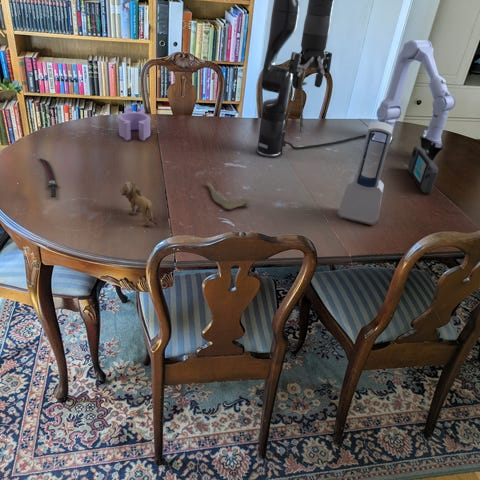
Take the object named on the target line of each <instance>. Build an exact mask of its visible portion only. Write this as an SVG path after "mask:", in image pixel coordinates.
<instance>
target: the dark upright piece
mask: <svg viewBox="0 0 480 480" xmlns="http://www.w3.org/2000/svg"><path fill="white" fill-rule="evenodd" d="M305 76H306V70H305V71H303V73H302V74H301V75H300V77H301V79H300V85H299V89H295V91H294V94H293V97H292V100H291V103H290V106H289V109H288V112H287V113H286V117H285V123H284V130H285V128H286V126H287V124H288V123H293V124H299V132H302V127H303V126H304V120H305V119H304V115H303V114H304V110H303V109H304V107H303V104H304V103H303V102H304V101H303V100H304V98H303V96H304V95H303V90H304V88H303V86H307V84H308V82H307V81H304V80H305ZM297 92H300V96H296V95H297ZM295 101H297V102H300V106H298V105H293V104H294V102H295ZM292 108H298V109H292ZM299 109H300V110H299ZM291 111H293V112H299V113H300V114H299V115H300V116H299V117H297V116H291V115H290V114H291ZM289 118H291V119H292V118H294V119H299V122H297V121H291V120H289Z"/></svg>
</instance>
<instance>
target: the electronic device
mask: <svg viewBox="0 0 480 480" xmlns="http://www.w3.org/2000/svg"><path fill="white" fill-rule="evenodd" d="M375 132H380V133H383V134H385V135H387V136H386V140H385V143H384V144H383V148H382V150H381V151H382V152H381V155H380V159H379V162H378V166H377V169H376V172H375V177H368V176H365V175H363V174H362V173H363V171H364V166H365V162H366V158H367V154H368V150H369V147H370V142H371V140H372V136H373V135H372V133H375ZM393 132H394V128H393V126H391V125H390V124H387V123H385V122H378V121H370V123H369V125H368V128H367V130H366V134H367V135H366V134H365V135H366V137H365V140H364V143H363V147H362V152H361V156H360V160H359V164H358V167H357V171H356V174H354V175H352V176H350V177H349V179H348V182H347V185H346V188H345V190H344V194H343V196H342V198H341V202H340V204H339V207H338V210H337V215H338V217H339V218H340V219H345V220H349V221H353V222H357V223H361V224H366V225H370V226H374V225H376V224H377V223H378V222H379V216H380V211H381V204H382V199H383V193H384V187H385V184H384V183H383V181H382V180H381V179H380V178H381V176H382V172H383V168H384V165H385V161H386V158H387V154H388V150H389V146H390V144H389V143H391V142H390V140H391V137H393ZM369 134H370V135H369ZM388 136H389V137H388ZM387 140H388V141H387ZM391 141H392V140H391Z"/></svg>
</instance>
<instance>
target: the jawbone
mask: <svg viewBox="0 0 480 480" xmlns="http://www.w3.org/2000/svg"><path fill="white" fill-rule="evenodd" d="M205 185H206V186H207V187H208V188H209V191H210V194H211V197H212V199H213V201H214V202H215V203H217V204H218V205H219V206H222V207H223V209H225V210H228V211H230V210H234V209H237V208H239V207H243V208H247V206H248V202H249V203H253V202H254V199H251V198H247V197H244V198H240V199H236V200H229V199H228V198H227V197H225V196H224V195H223V194H221V192H220V190H216V189H215V188H214V186H213V184H212V183H211V181H205Z"/></svg>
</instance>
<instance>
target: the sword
mask: <svg viewBox="0 0 480 480" xmlns="http://www.w3.org/2000/svg"><path fill="white" fill-rule="evenodd" d="M40 161H41V162H42V163H43V165H44V166H45V169H46V173H47V176H48V185H47V188H50V198H56V197H57V189H56V188H57V187H59V185H58V184H57V183H56V180H55V176H54V172H53V169H52V167H51V164H50V163H49V161H48V160H46V159H43V158H40Z"/></svg>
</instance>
